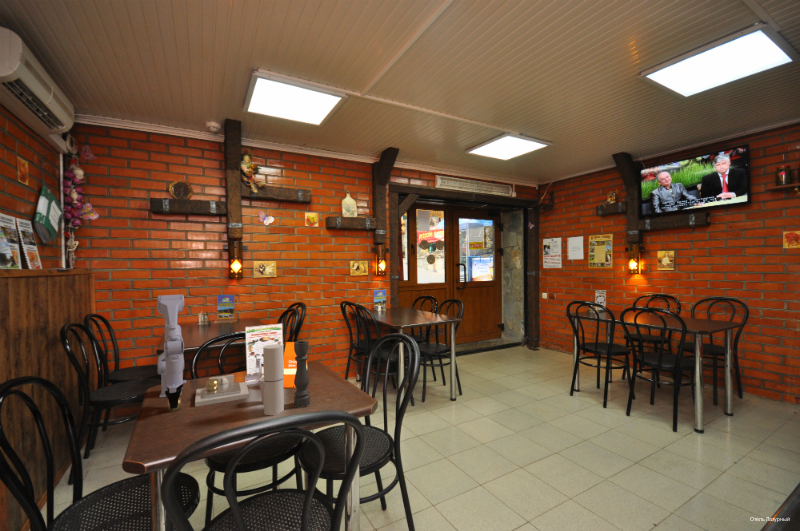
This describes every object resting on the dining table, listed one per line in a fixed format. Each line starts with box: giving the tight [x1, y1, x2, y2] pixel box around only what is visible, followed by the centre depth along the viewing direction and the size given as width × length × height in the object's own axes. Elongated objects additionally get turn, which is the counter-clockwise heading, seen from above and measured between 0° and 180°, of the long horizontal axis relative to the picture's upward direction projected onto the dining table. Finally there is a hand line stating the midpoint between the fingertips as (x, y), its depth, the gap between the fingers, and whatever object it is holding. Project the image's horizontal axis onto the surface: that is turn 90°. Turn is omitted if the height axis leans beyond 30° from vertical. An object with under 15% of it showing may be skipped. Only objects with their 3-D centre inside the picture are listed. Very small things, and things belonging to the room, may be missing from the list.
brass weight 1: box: [167, 397, 182, 413], centre depth 142 cm, size 4×4×4 cm
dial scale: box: [194, 374, 250, 408], centre depth 157 cm, size 18×20×6 cm
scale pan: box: [203, 381, 241, 398], centre depth 157 cm, size 12×14×1 cm
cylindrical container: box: [262, 343, 285, 416], centre depth 138 cm, size 7×7×25 cm
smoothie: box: [258, 376, 264, 405], centre depth 148 cm, size 6×6×14 cm
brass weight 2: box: [205, 379, 218, 392], centre depth 155 cm, size 4×4×4 cm
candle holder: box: [293, 340, 311, 408], centre depth 145 cm, size 6×6×25 cm
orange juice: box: [283, 341, 308, 388], centre depth 170 cm, size 8×9×20 cm
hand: (174, 405), depth 142 cm, fingers closed on brass weight 1, 4 cm apart
